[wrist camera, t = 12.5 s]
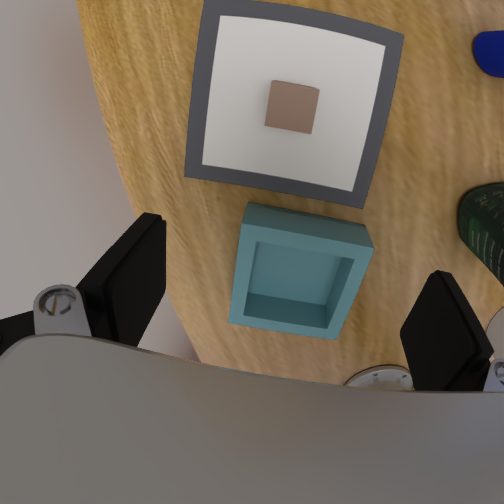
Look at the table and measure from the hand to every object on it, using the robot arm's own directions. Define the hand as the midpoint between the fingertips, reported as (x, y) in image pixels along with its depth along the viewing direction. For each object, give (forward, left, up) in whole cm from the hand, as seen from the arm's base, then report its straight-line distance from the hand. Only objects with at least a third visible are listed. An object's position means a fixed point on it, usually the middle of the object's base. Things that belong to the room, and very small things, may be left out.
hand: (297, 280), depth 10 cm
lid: (+1, -4, -22) cm, 23 cm away
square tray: (-3, +14, -23) cm, 27 cm away
